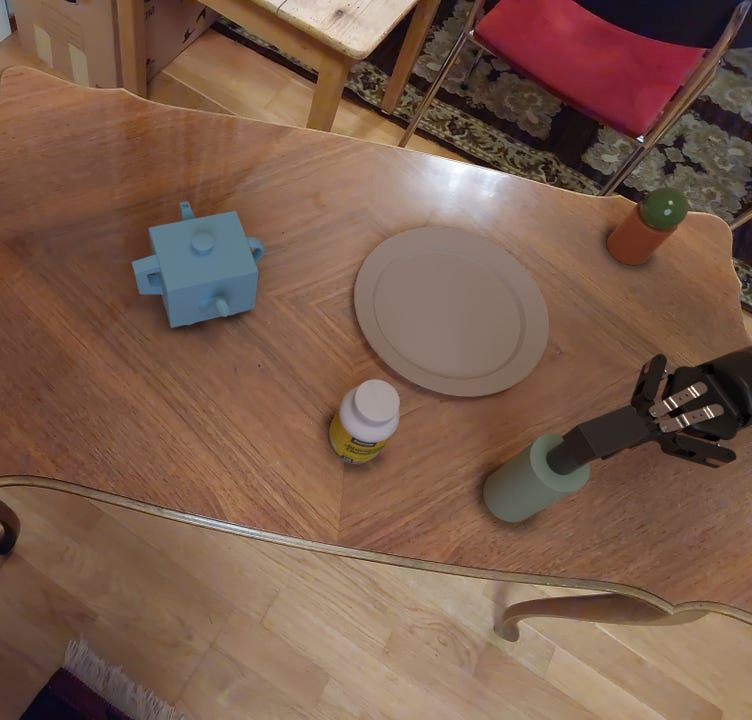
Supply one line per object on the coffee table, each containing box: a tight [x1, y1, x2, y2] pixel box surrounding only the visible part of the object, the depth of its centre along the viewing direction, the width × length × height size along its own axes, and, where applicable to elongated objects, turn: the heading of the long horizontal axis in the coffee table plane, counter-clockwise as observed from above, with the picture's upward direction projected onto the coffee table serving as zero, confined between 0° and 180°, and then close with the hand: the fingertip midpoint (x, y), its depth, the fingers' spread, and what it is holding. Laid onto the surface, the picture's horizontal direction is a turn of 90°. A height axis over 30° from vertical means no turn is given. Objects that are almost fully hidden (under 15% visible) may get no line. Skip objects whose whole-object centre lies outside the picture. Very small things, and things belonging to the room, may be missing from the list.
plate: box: [353, 226, 550, 397], centre depth 85 cm, size 26×26×2 cm
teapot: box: [131, 200, 266, 329], centre depth 79 cm, size 16×18×11 cm
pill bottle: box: [327, 378, 401, 465], centre depth 72 cm, size 6×6×12 cm
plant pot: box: [606, 186, 690, 266], centre depth 89 cm, size 6×6×11 cm
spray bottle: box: [482, 404, 650, 523], centre depth 67 cm, size 8×6×20 cm
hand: (618, 437), depth 65 cm, fingers closed
